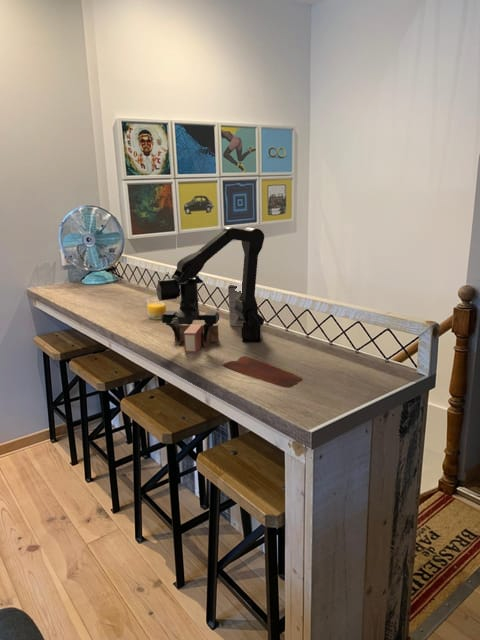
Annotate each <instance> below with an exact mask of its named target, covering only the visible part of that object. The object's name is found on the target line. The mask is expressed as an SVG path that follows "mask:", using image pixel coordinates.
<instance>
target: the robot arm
mask: <svg viewBox="0 0 480 640" xmlns="http://www.w3.org/2000/svg"><path fill="white" fill-rule="evenodd" d="M233 240H235V241H240V242H241V247H242V250H243V254H244V256H243V257H244V258H243V269H242V272H243V273H242V281H241V282H242V293H241V296H240V298H239V299H235V308H234V310H236V314H237V315H238V316H239V317H240V318H241V321H243V322H244V323H243V326H241V328H240V329H241V339H242V340H241V341H242V342H244V343H245V342H246V343H247V342H248V343H261V342H262V338H263V335H262V326H263V325H264V323H265V318H264V317H263V316H261V315H260V314H259V310H258V303H257V299H256V285H257V284H256V282H257V274H258V273H257V272H258V261H259V260H258V259H259V255H260V252H261V251H262V248H263V246H264V245H263V244H264V243H265V242H264V241H265V233H264V231H263V230H261V229H260V228H255V227H246V228H244V229H242V228H235V227H233V226H232V227H231V226H226V227H224V228H223V230H221V231H220V232H219V233H217V234H216V235H215V236H214V237H213V238H212V239H211V240H209V241H208V242H207V243H206V244H205V245H204V246H203V247H201V248H199V250H197V251H195V252H193V253H191V254H188V255H187V256H184V257H183V258H181V259H180V260H179V261H178V262H177V264H176V269H175V271H174V272H173V275H172V276H171V278H167V279H158V280H157V285H156V295H157V299H158V301H159V302H162V301H170V300H177V299H178V298H179V297H180V302H179V309H178V311H176V310H167V311H166V312H164V313H163V314H162V315H161V323H163V324H165V325H166V326H169V327H170V329H172V331H173V334H174V333H175V336H176V338H177V340H178V341H177V342H178V343H180V329H179V324H180V325H182V324H187V325H191V324H194V323H193V322H194V321H204V323H203V324H204V341H203V343H204V342H206V340H207V337H208V333H209V330H210V328H211V326H213V325H214V324H217V323H218V322H219V321H220V313H219V312H218V311H207V312H206V313H205V314H200V309H199V301H200V298H199V294H198V293H199V292H198V289H199V288H198V284H203V283H204V280H202V279H201V278H200V277H199V273H200V272H201V271H202V270H203V268H204V266H205V265H206V263H207V262H208V261H209V260H210V259H211V258H212V257H214V256H215V255H216V254H218V252H220V251H221V250H222V249H224V247H226V246H227V245H228V244H229V243H231V242H232V241H233ZM175 336H174V337H175Z"/></svg>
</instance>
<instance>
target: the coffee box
mask: <svg viewBox="0 0 480 640" xmlns="http://www.w3.org/2000/svg"><path fill="white" fill-rule="evenodd" d="M236 288H237V286H234V285H231V284H229V285H228V286H227V290H228V291H227V292H228V311H229V315H228V316H229V326H231V327H242V326H243V323H244V322H243V321H241V318H240V317H239V316H238V315H237V314H236V310H234V308H235V299H239V298H240V296H241V291H239V292H237V291H235V289H236Z"/></svg>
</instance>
